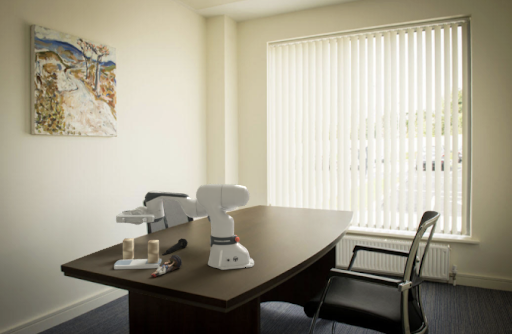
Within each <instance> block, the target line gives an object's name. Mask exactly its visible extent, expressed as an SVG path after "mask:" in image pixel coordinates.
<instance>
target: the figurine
mask: <svg viewBox="0 0 512 334" xmlns="http://www.w3.org/2000/svg"><path fill="white" fill-rule="evenodd" d="M182 264H183V260H182V257H181V256H180V255H177V254H172V255H171V256H170V257H169V258H168V260H167V261H166V262H165V261H164V263H163V264H162V265H161V266H159V268H156V270H155V271H154V272H152V273H151V274H150V276H151V277H152V278H156V277H157V276H161V275H163V274H164V275H165V274H166V273H168V272H173V271H175V270H177V269H180V268H181V266H183V265H182Z"/></svg>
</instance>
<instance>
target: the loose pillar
mask: <svg viewBox="0 0 512 334" xmlns="http://www.w3.org/2000/svg"><path fill="white" fill-rule="evenodd" d="M134 258H135V238H134V237H133V238H131V237H130V238H129V237H128V238H126V237H125V238H124V239H123V240H122V260H127V259H134Z"/></svg>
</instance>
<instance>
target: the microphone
mask: <svg viewBox="0 0 512 334" xmlns="http://www.w3.org/2000/svg"><path fill="white" fill-rule="evenodd" d="M188 243H189V242H188V240H187V239H186V238H180V239H178V242H177V243H175V244H173V245H172V246H171V247H169V248H168V249H167V250H166V251H164V252H163V253H162V254H161V255H162V256H165V255H169V254H171V253H173V252H174V253H175V252H176V251H178V250H180V249H185V248H187V246H188Z"/></svg>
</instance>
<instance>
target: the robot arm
mask: <svg viewBox="0 0 512 334" xmlns="http://www.w3.org/2000/svg"><path fill="white" fill-rule="evenodd" d="M250 197H251V196H250V191H249V189H248V187H247V186H245V185H240V184H233V183H231V184H229V183H225V184H224V183H223V184H222V183H207V184H202V185H200V186H199V187H198V188H197V190H196V192H195V198H193V197H190V196H189V194H187V193H179V192H169V191H166V192H165V191H158V190H150V191H148V192H147V193H146V194H145V195H144V201H145V205H146V206H145V205H141V206H137V207H136V208H135V209H131V210H130V209H129V210H124V211H122V212H120V213H119V214H117V215H116V217H115V221H116V223H117V224H118V223H119V224H121V223H122V224H132V225H133V224H134V225H136V226H139V225H141V224H143V223H149V224H155V223H158V222H160V221H162V220H163V219H165V216H166V215H165V208H164V202H163V200H170V201H171V200H172V201H175V202H177V203H178V204H179V206H180V207H181V210H182V212H183V213H184V214H185V215H186V216H187V217H189V218H190V219H191V218H193V219H195V218H196V219H197V218H198V219H199V218H204V217H206V218H207V220H208V222H209V223H210V228H211V229H210V231H211V232H210V233H211V234H210V237H209V245H210V246H209V247H210V250H209V251H210V253H209V256H208V257H209V258H208V261H207V265H208V266H210V267H211V268H217V269H219V270H222V271H223V270H234V269H235V270H236V269H244V268H245V267H246V268H252V267H253V266H255V260H254V259H253V258H252V257H250V253H249V251H248V249H247V248H246V247H245V246H244V245H242V244H241V243H240V240H241V239H240V237H239V236H238V235H237V234H235V220H234V218H233V217H232V216H231V215H230V214H229V213H227V212H232V211H234V210H235V209H236V208H238V207H245V206H246V205H247V204H248V203H249V200H250ZM246 268H245V269H246Z"/></svg>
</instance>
